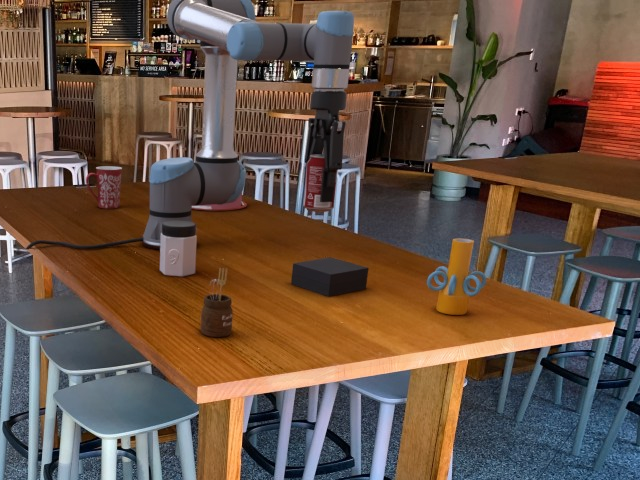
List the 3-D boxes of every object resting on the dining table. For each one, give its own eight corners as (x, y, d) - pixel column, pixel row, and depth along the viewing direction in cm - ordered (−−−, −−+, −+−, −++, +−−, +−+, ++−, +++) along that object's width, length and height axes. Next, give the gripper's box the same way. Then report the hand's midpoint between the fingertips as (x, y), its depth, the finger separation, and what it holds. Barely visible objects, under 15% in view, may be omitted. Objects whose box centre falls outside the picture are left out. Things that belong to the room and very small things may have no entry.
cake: (218, 197, 300) (219, 168, 296) (261, 207, 280) (263, 176, 276) (163, 202, 288) (164, 172, 284) (204, 213, 268) (206, 181, 264)
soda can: (333, 213, 175) (339, 157, 171) (302, 212, 177) (307, 156, 172) (333, 208, 182) (338, 154, 177) (303, 207, 183) (307, 153, 178)
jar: (155, 274, 192) (156, 225, 187) (164, 267, 199) (165, 219, 194) (191, 278, 189) (193, 228, 185) (198, 270, 197) (200, 221, 192)
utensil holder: (196, 335, 150) (199, 274, 145) (205, 326, 155) (208, 266, 151) (227, 339, 148) (230, 277, 143) (235, 329, 153) (238, 269, 149)
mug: (118, 204, 283) (118, 165, 278) (124, 208, 275) (124, 169, 270) (84, 205, 281) (83, 166, 276) (88, 210, 273) (88, 169, 267)
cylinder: (472, 323, 158) (485, 249, 153) (418, 314, 164) (430, 242, 158) (483, 308, 168) (496, 238, 162) (432, 300, 173) (443, 232, 167)
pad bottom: (328, 296, 176) (329, 285, 175) (291, 284, 185) (291, 273, 184) (366, 289, 182) (367, 278, 181) (327, 277, 191) (329, 267, 190)
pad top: (329, 285, 175) (330, 274, 174) (291, 273, 184) (292, 263, 183) (367, 278, 181) (368, 267, 180) (329, 267, 190) (330, 257, 189)
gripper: (367, 91, 161) (354, 205, 170) (325, 89, 179) (316, 192, 188) (333, 91, 160) (322, 206, 169) (294, 89, 178) (286, 193, 186)
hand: (319, 199), depth 178 cm, fingers closed on soda can, 7 cm apart
